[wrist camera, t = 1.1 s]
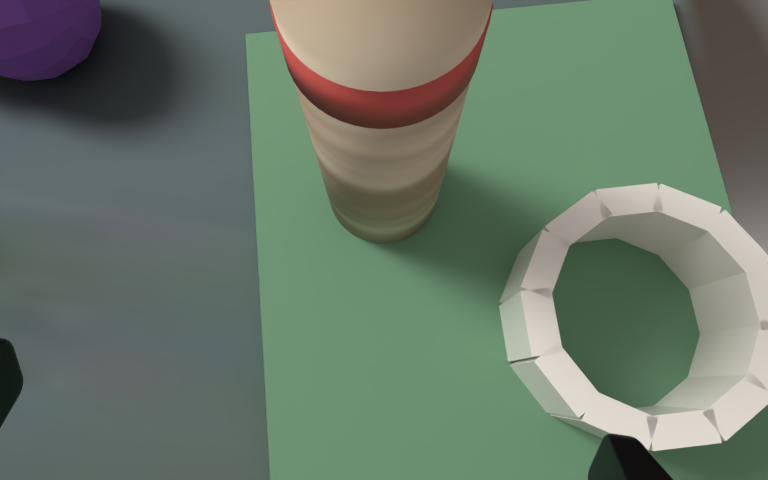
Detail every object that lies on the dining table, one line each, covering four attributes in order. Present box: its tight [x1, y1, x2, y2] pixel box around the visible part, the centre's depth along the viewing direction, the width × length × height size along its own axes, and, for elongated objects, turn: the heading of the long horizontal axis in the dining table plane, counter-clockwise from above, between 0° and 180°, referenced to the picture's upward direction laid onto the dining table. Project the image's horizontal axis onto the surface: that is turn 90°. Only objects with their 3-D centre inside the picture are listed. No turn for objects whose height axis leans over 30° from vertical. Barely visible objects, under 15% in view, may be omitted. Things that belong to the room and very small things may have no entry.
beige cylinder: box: [270, 0, 493, 243], centre depth 17 cm, size 4×4×12 cm
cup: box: [499, 183, 768, 451], centre depth 20 cm, size 8×8×4 cm
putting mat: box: [245, 0, 768, 480], centre depth 22 cm, size 22×19×1 cm
